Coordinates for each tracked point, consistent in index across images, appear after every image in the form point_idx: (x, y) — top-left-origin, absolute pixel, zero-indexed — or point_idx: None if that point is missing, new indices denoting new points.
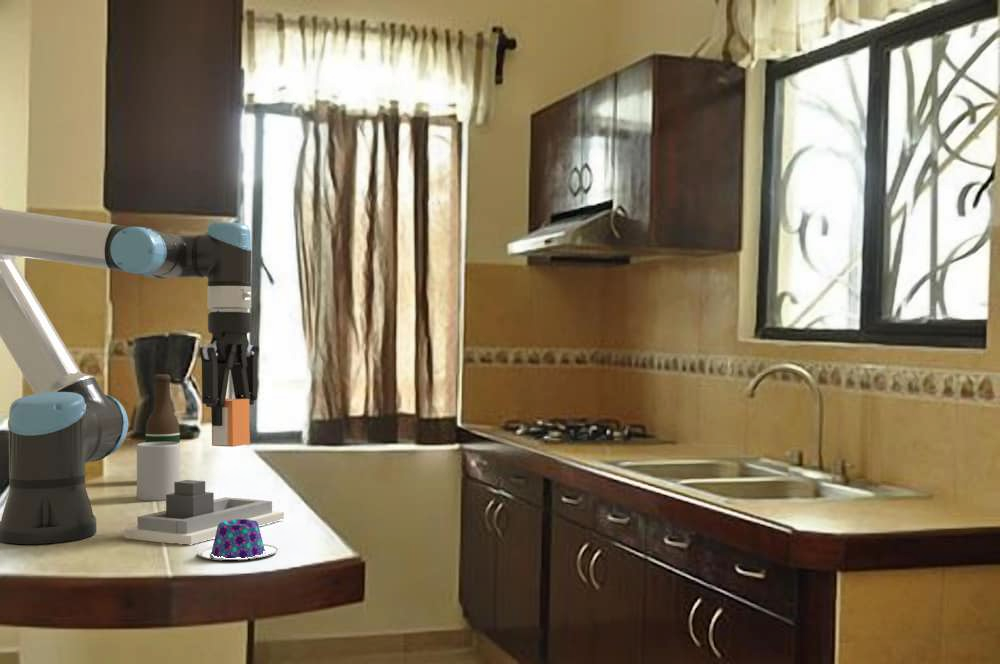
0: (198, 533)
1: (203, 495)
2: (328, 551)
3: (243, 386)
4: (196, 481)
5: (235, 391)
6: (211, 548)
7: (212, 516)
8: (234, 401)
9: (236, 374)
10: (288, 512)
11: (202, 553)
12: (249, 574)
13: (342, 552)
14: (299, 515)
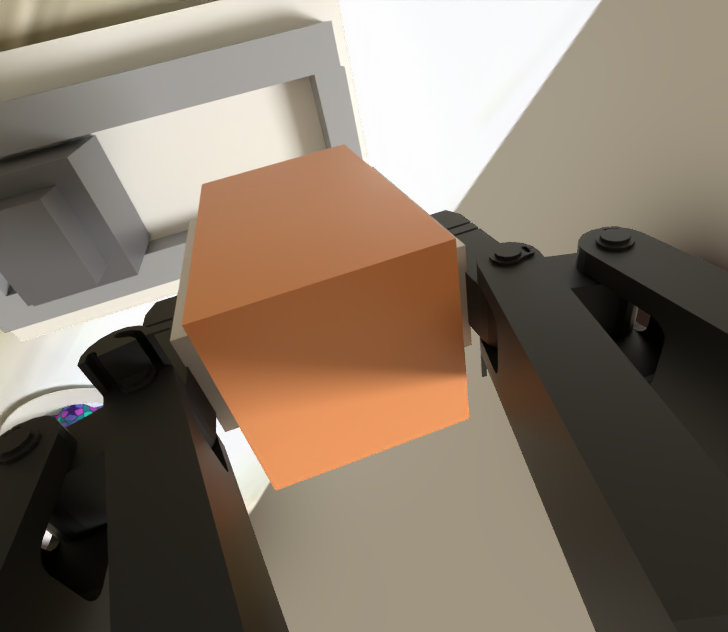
0: (52, 325)
1: (87, 289)
2: (238, 485)
3: (529, 459)
4: (62, 267)
5: (509, 338)
6: (54, 396)
7: (115, 297)
8: (300, 473)
9: (603, 569)
10: (467, 127)
11: (17, 420)
12: (45, 547)
13: (249, 497)
14: (447, 188)
